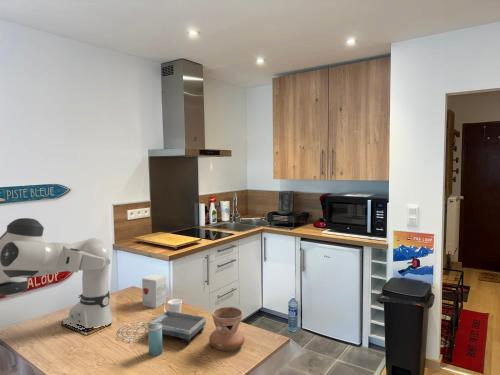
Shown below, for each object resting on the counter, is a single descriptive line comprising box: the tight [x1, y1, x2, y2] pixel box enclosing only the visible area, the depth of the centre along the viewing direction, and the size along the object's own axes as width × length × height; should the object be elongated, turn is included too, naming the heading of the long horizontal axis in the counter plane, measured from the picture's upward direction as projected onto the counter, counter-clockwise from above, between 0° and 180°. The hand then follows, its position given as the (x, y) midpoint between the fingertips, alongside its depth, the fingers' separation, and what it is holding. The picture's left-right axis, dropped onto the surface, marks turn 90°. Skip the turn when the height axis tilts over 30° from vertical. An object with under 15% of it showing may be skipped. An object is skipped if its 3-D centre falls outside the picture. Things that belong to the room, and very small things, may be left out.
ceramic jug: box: [208, 306, 246, 352], centre depth 144 cm, size 18×14×14 cm
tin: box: [147, 323, 163, 358], centre depth 138 cm, size 5×5×11 cm
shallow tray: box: [148, 309, 207, 345], centre depth 153 cm, size 20×14×6 cm
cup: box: [162, 298, 183, 313], centre depth 170 cm, size 7×10×8 cm
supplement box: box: [141, 273, 167, 309], centre depth 185 cm, size 9×9×15 cm
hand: (101, 259), depth 122 cm, fingers open, 8 cm apart
